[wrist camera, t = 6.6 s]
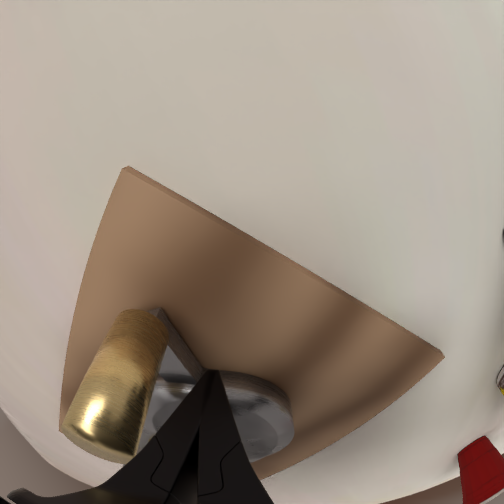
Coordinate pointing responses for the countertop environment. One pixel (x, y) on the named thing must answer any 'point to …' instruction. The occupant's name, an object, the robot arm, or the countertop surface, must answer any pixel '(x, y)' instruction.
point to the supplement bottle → (501, 380)
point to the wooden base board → (241, 315)
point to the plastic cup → (481, 472)
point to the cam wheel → (162, 393)
